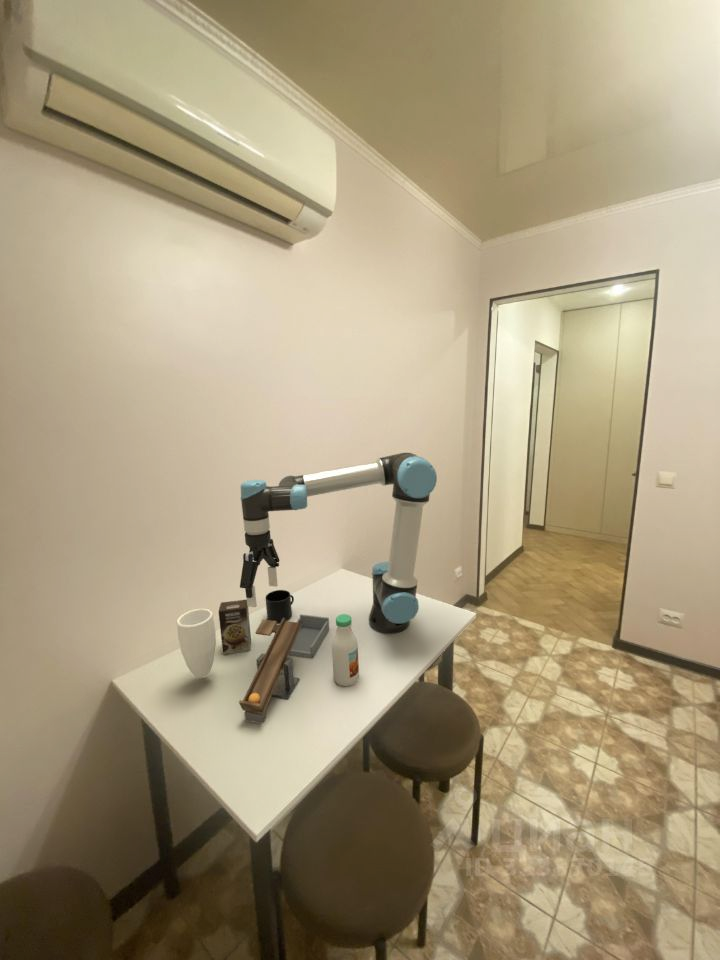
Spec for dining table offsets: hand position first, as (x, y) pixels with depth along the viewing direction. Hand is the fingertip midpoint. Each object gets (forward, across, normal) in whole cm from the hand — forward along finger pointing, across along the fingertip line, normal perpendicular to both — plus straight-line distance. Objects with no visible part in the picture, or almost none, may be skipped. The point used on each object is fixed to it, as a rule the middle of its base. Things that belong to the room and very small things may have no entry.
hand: (263, 595), depth 122 cm
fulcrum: (+23, +11, +8) cm, 26 cm away
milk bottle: (+23, +3, +27) cm, 36 cm away
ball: (+17, +23, +9) cm, 29 cm away
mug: (+23, -25, -8) cm, 35 cm away
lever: (+16, +10, +5) cm, 20 cm away
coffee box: (+23, -3, -14) cm, 27 cm away
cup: (+23, +14, -14) cm, 30 cm away
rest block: (+23, +23, +9) cm, 33 cm away
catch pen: (+23, -12, +8) cm, 27 cm away
